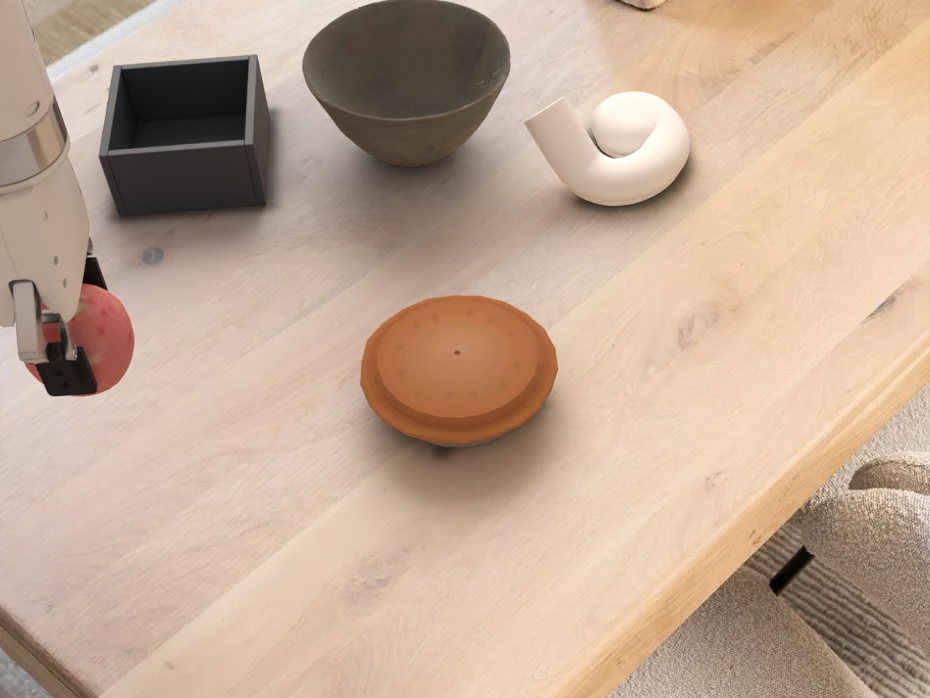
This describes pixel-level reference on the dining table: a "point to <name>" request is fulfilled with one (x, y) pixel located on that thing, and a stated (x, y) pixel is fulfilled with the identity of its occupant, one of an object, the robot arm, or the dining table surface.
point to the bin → (186, 135)
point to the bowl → (408, 76)
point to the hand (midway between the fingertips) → (80, 345)
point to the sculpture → (614, 147)
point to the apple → (98, 336)
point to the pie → (458, 370)
